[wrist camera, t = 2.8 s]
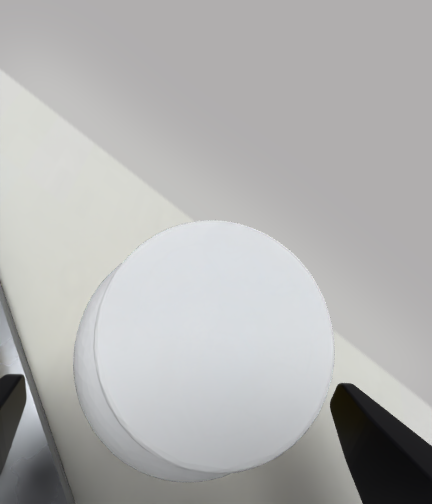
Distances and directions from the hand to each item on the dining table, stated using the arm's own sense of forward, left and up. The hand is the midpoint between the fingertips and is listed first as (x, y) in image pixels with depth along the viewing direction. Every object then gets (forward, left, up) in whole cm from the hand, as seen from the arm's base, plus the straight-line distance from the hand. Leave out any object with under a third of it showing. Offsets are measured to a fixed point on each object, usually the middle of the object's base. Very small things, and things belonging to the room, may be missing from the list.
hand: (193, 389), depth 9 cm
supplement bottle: (+1, -1, -9) cm, 9 cm away
